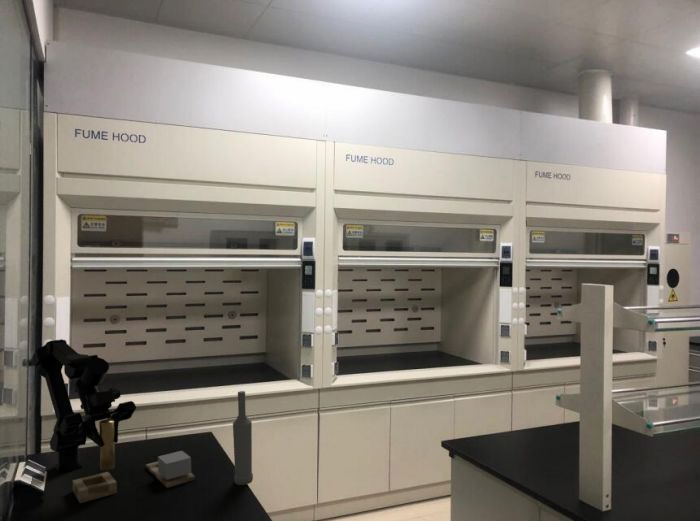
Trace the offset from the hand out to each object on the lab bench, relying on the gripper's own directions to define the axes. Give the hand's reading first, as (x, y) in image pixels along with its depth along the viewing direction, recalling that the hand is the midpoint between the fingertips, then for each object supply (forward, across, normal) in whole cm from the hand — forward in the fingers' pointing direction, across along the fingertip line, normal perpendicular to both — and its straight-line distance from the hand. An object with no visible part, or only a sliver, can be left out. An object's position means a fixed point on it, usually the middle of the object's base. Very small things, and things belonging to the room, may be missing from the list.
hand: (109, 444), depth 144 cm
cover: (+11, +17, +5) cm, 21 cm away
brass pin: (+4, 0, +6) cm, 7 cm away
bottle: (+24, +28, -6) cm, 37 cm away
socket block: (+6, -2, +12) cm, 14 cm away
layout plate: (+10, +17, +9) cm, 22 cm away
